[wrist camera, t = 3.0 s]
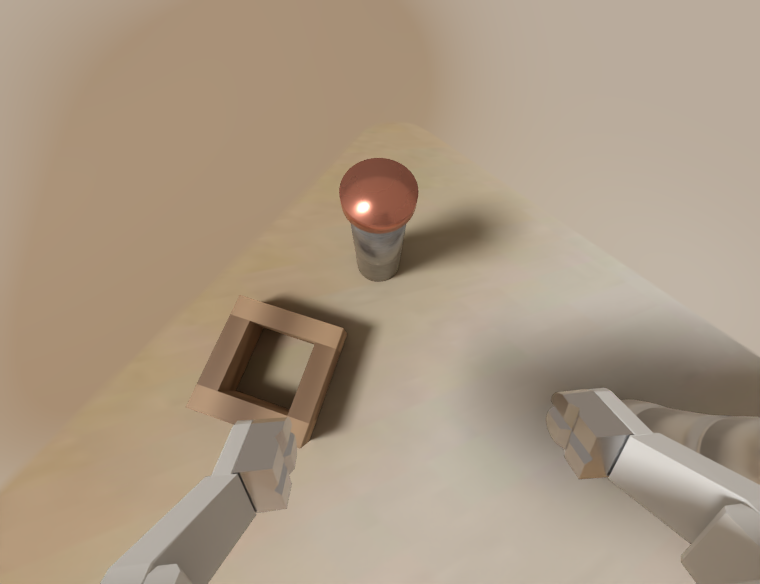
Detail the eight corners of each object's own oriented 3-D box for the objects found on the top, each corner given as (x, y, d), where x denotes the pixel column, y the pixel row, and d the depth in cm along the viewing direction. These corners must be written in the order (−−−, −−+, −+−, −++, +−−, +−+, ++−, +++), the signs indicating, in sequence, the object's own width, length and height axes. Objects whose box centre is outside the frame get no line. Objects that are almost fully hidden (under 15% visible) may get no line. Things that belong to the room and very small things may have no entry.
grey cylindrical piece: (409, 247, 29) (427, 169, 19) (394, 291, 28) (405, 234, 17) (362, 233, 29) (354, 149, 19) (346, 277, 28) (327, 212, 18)
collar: (347, 334, 26) (343, 328, 24) (309, 440, 24) (300, 448, 21) (254, 304, 27) (239, 294, 24) (207, 404, 25) (185, 407, 22)
